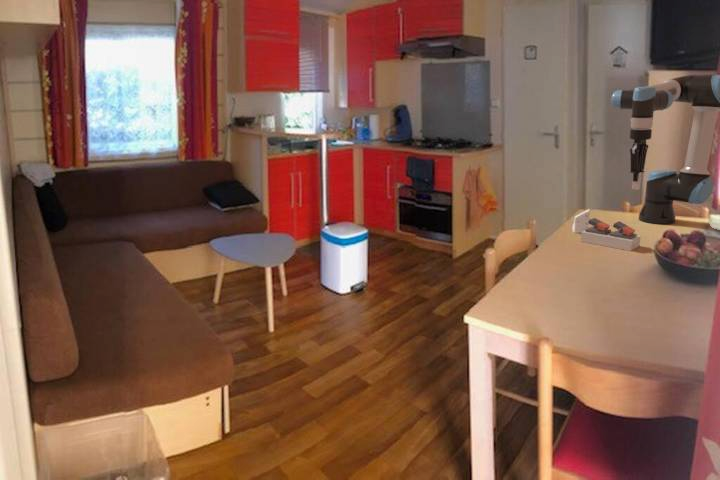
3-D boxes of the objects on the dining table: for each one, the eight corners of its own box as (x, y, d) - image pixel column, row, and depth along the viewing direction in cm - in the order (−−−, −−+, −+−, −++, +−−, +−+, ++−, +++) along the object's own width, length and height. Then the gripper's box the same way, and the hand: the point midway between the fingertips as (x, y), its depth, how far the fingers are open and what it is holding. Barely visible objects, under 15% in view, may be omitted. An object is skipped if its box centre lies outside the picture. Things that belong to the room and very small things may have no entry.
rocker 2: (616, 226, 241) (619, 221, 240) (632, 235, 238) (635, 230, 237) (611, 228, 238) (614, 223, 237) (627, 237, 234) (630, 232, 233)
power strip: (590, 237, 252) (591, 225, 251) (639, 245, 239) (640, 233, 237) (580, 241, 246) (581, 229, 245) (630, 250, 233) (631, 238, 231)
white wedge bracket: (599, 227, 258) (590, 210, 256) (577, 238, 260) (568, 221, 258) (596, 225, 261) (587, 208, 260) (575, 236, 263) (566, 219, 262)
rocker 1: (592, 222, 248) (594, 217, 247) (607, 230, 244) (610, 225, 243) (587, 224, 245) (589, 219, 244) (602, 232, 241) (605, 227, 240)
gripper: (637, 126, 238) (632, 185, 245) (624, 129, 229) (619, 190, 236) (657, 127, 233) (651, 187, 240) (645, 130, 224) (639, 193, 231)
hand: (635, 188), depth 238 cm, fingers closed
